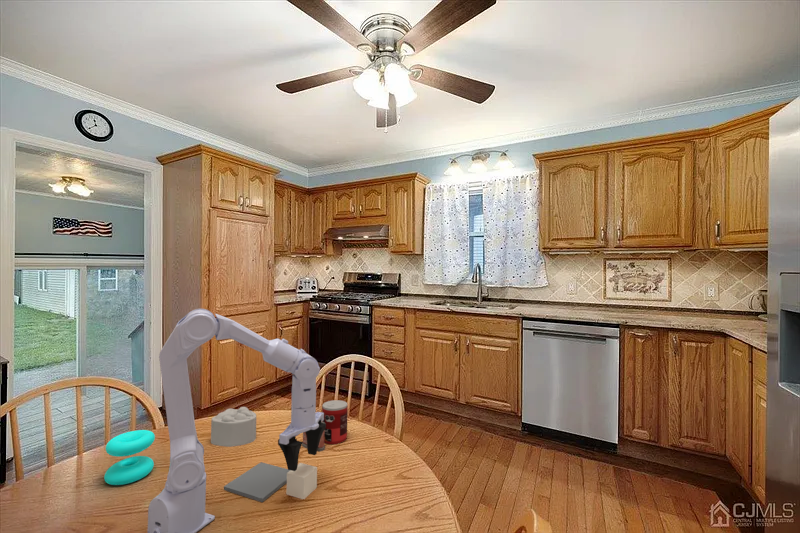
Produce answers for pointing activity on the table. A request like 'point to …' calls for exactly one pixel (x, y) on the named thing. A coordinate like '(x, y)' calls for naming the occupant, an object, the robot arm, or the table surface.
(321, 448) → the lighter
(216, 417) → the lumpy-topped squat cylinder
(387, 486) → the table surface
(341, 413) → the canned food
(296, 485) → the cube
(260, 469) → the grey square plate
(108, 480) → the donuts
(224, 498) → the table surface
